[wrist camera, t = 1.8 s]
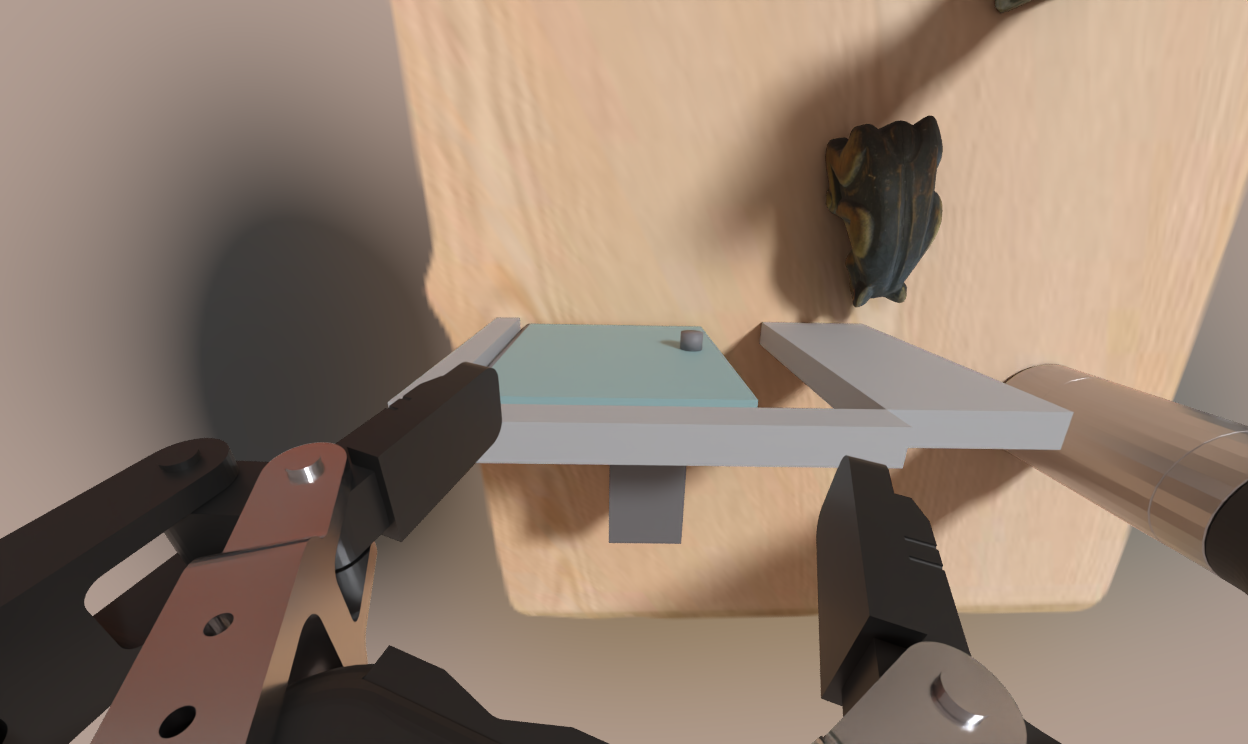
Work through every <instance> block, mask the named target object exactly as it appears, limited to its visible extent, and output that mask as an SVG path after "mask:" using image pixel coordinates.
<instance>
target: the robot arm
mask: <svg viewBox="0 0 1248 744" xmlns="http://www.w3.org/2000/svg"><path fill="white" fill-rule="evenodd" d="M1005 384H1007V385H1010V386H1012V387H1015V388H1017V389H1019V390H1022V391H1024V392H1027V393H1029V394H1031V395H1034V396H1036V397H1039V398H1041V399H1043V400H1046V401H1048V402H1050V403H1053V404H1055V405H1058V406H1060V407H1062V408H1065V409H1067V410H1070V411H1072V412H1074V413H1073V416H1072V419H1071V421H1070V424H1069V427H1068V430H1067V433H1066V436H1065V438H1064V441H1063V444H1062V447H1061V450H1035V449H1004V450H1005V451H1007V452H1009V453H1010V454H1012V455H1014V456H1015V457H1017V458H1019V459H1021V460H1022V461H1024V462H1026V463H1027V464H1029V465H1031V466H1032V467H1034V468H1035V469H1037V470H1039V471H1040V472H1042V473H1044V474H1046V475H1047V476H1049V477H1051V478H1052V479H1054V480H1056V481H1057V482H1059V483H1061V484H1062V485H1064V486H1066V487H1068V488H1069V489H1071V490H1073V491H1074V492H1076V493H1078V494H1079V495H1081V496H1083V497H1084V498H1086V499H1088V500H1090V501H1091V502H1093V503H1095V504H1096V505H1098V506H1100V507H1101V508H1103V509H1105V510H1106V511H1108V512H1110V513H1112V514H1113V515H1115V516H1117V517H1118V518H1120V519H1122V520H1123V521H1125V522H1127V523H1128V524H1130V525H1132V526H1134V527H1135V528H1137V529H1139V530H1140V531H1142V532H1144V533H1145V534H1147V535H1149V536H1151V537H1152V538H1154V539H1156V540H1157V541H1159V542H1161V543H1162V544H1164V545H1166V546H1168V547H1170V548H1171V549H1173V550H1175V551H1176V552H1178V553H1180V554H1181V555H1183V556H1185V557H1186V558H1188V559H1190V560H1192V561H1193V562H1195V563H1197V564H1198V565H1200V566H1202V567H1203V568H1205V569H1207V570H1208V571H1210V572H1212V573H1214V574H1215V575H1217V576H1219V577H1220V578H1222V579H1224V580H1225V581H1227V582H1229V583H1230V584H1232V585H1234V586H1235V587H1237V588H1238V589H1240V590H1242V591H1243V592H1245V593H1246V594H1247V595H1248V426H1246V425H1243V424H1240V423H1237V422H1234V421H1231V420H1228V419H1225V418H1222V417H1219V416H1215V415H1213V414H1209V413H1206V412H1203V411H1200V410H1197V409H1194V408H1191V407H1188V406H1185V405H1181V404H1178V403H1176V402H1173V401H1169V400H1166V399H1163V398H1160V397H1157V396H1154V395H1151V394H1148V393H1145V392H1142V391H1139V390H1136V389H1133V388H1129V387H1126V386H1123V385H1120V384H1117V383H1114V382H1111V381H1108V380H1105V379H1102V378H1099V377H1096V376H1093V375H1090V374H1087V373H1084V372H1081V371H1078V370H1074V369H1071V368H1068V367H1065V366H1061V365H1057V364H1045V365H1039V366H1034V367H1032V368H1029V369H1026V370H1024V371H1022V372H1020V373H1018V374H1017V375H1015V376H1014V377H1012V378H1011V379H1010V380H1008V381H1007V382H1006V383H1005ZM501 426H502V412H501V401H500V390H499V379H498V374H497V372H496V370H495V369H494V368H490V367H486V366H482V365H478V364H474V363H470V362H462V363H460V364H459V365H457V366H456V367H455V368H453V369H452V370H451V371H449V372H448V373H446V374H445V375H444V376H439V377H437V378H434V379H432V380H429V381H426V382H424V383H421V384H419V385H418V386H416V387H415V388H413V389H412V390H411V391H409V392H408V393H406V394H405V395H404V396H403V398H402V399H400V398H399V399H398V400H396V401H395V402H394V403H392V404H391V405H389V408H388V409H386V408H385V409H384V410H382V411H381V412H380V413H378V414H377V415H375V416H374V417H372V418H371V419H370V420H368V421H367V422H365V423H364V424H363V425H361V426H360V427H358V428H357V429H356V430H354V431H353V432H351V433H350V434H348V435H347V436H346V437H344V438H343V439H341V440H340V441H339V442H337V443H336V444H332V443H326V442H324V443H323V442H319V443H311V444H305V445H302V446H298V447H295V448H292V449H290V450H288V451H285V452H284V453H282V454H280V455H278V456H277V457H275V458H274V459H272V460H271V461H270V462H257V461H236V460H235V458H234V456H233V454H232V452H231V450H230V448H229V446H228V445H227V443H226V442H224V441H222V440H220V439H214V438H200V439H193V440H188V441H184V442H180V443H177V444H174V445H171V446H168V447H166V448H164V449H161V450H159V451H157V452H155V453H153V454H152V455H150V456H148V457H146V458H144V459H143V460H141V461H139V462H137V463H135V464H134V465H132V466H130V467H128V468H126V469H125V470H123V471H121V472H119V473H118V474H116V475H114V476H112V477H110V478H109V479H107V480H105V481H103V482H101V483H100V484H98V485H96V486H94V487H93V488H91V489H89V490H87V491H86V492H84V493H82V494H80V495H78V496H76V497H75V498H73V499H71V500H69V501H68V502H66V503H64V504H62V505H60V506H58V507H57V508H55V509H53V510H51V511H50V512H48V513H46V514H44V515H43V516H41V517H39V518H37V519H35V520H34V521H32V522H30V523H28V524H26V525H25V526H23V527H21V528H19V529H17V530H16V531H14V532H12V533H10V534H8V535H7V536H5V537H3V538H1V539H0V744H69V743H70V742H71V741H72V740H73V739H74V738H75V737H76V736H78V734H80V733H81V732H82V731H83V730H84V729H85V728H86V727H87V726H88V725H90V724H91V722H93V721H94V720H95V719H96V718H97V717H99V716H100V715H101V714H102V713H103V712H104V711H105V710H106V709H107V708H108V707H109V706H110V708H109V710H108V712H107V713H106V715H105V717H104V719H103V721H102V723H101V725H100V726H99V728H98V730H97V732H96V734H95V736H94V738H93V739H92V741H91V743H90V744H608V743H606V742H604V741H602V740H600V739H597V738H595V737H593V736H591V735H588V734H586V733H584V732H582V731H580V730H577V729H575V728H572V727H564V726H555V725H545V724H537V723H528V722H519V721H510V720H502V719H498V718H496V717H494V716H492V715H491V714H490V713H489V712H488V711H487V710H486V709H484V708H483V707H482V706H481V705H480V704H479V703H478V702H477V701H476V700H475V699H474V698H473V697H472V696H471V695H470V694H469V693H468V692H467V691H466V690H465V689H464V688H463V687H462V686H460V684H459V683H458V682H457V681H456V680H455V679H453V678H452V677H451V676H450V675H449V674H448V673H447V672H446V671H445V670H444V669H441V668H439V667H437V666H435V665H432V664H430V663H428V662H426V661H423V660H421V659H419V658H417V657H415V656H412V655H410V654H408V653H405V652H403V651H401V650H399V649H397V648H395V647H392V646H390V645H389V646H388V648H387V649H386V650H385V651H384V653H383V654H382V655H381V657H380V658H379V659H378V660H377V662H376V663H375V664H368V661H367V652H366V642H365V636H366V626H367V619H368V612H369V605H370V598H371V591H372V585H373V578H374V570H375V564H376V557H377V548H376V544H375V540H376V539H377V538H378V537H379V536H380V535H384V536H387V537H389V538H392V539H395V540H397V541H400V542H402V541H403V540H404V539H405V538H406V537H407V536H408V535H409V534H410V532H411V531H412V530H413V529H414V528H415V527H416V526H417V525H418V524H419V523H420V522H421V521H422V520H423V519H424V517H426V515H427V514H428V513H429V512H430V511H431V510H432V509H433V508H434V507H435V506H436V505H437V503H438V502H440V500H441V499H442V498H443V497H444V496H445V495H446V494H447V493H448V492H449V491H450V490H451V489H452V488H453V487H454V485H455V484H456V483H457V482H458V481H459V480H460V479H461V478H462V477H463V476H464V475H465V474H466V473H467V472H468V471H469V469H470V468H471V467H472V466H473V465H474V464H475V463H476V462H477V461H478V460H479V459H480V458H481V457H482V456H483V454H484V453H485V452H486V451H487V450H488V449H489V448H490V447H491V446H492V445H493V444H494V442H495V441H496V439H497V438H498V435H499V433H500V430H501ZM163 532H164V533H165V535H166V536H167V538H168V539H169V541H170V542H171V544H172V545H173V547H174V548H175V550H176V551H177V554H175V555H174V556H173V557H171V558H170V559H169V560H167V561H166V562H165V563H163V564H162V565H161V566H159V567H158V568H157V569H155V570H154V571H153V572H151V573H150V574H149V575H147V576H146V577H145V578H143V579H142V580H140V581H139V582H138V583H136V584H135V585H134V586H133V587H131V588H130V589H129V590H127V591H126V592H125V593H123V594H122V595H120V596H119V597H118V598H116V599H115V600H114V601H112V602H111V603H110V604H108V605H107V606H106V607H104V608H103V609H102V610H100V611H99V612H98V613H96V614H95V615H94V616H92V615H91V614H90V613H89V612H88V611H87V610H86V608H85V606H84V599H85V595H86V593H87V591H88V590H89V588H90V587H91V585H92V584H93V583H94V582H95V581H96V580H97V579H98V578H99V577H100V576H102V575H103V574H104V573H106V572H107V571H109V570H110V569H112V568H113V567H115V566H116V565H117V564H119V563H120V562H122V561H123V560H125V559H126V558H127V557H129V556H130V555H132V554H133V553H135V552H136V551H137V550H139V549H140V548H142V547H143V546H145V545H146V544H147V543H149V542H150V541H152V540H153V539H155V538H156V537H157V536H159V535H160V534H162V533H163ZM816 544H817V577H818V611H819V641H820V674H821V675H820V677H821V698H822V699H824V700H827V701H830V702H832V703H835V704H838V705H840V706H843V718H842V719H841V720H840V721H839V722H838V723H837V724H836V725H835V726H834V728H833V729H832V730H831V731H830V732H829V733H828V734H827V735H825V736H824V737H822V736H820V737H819V738H818V739H816V740H815V741H814V742H813V743H812V744H1061V743H1060V742H1058V741H1056V740H1055V739H1053V738H1051V737H1050V736H1048V735H1047V734H1045V733H1043V732H1042V731H1040V730H1039V729H1037V728H1035V727H1034V726H1033V725H1031V724H1030V723H1028V722H1027V721H1026V720H1024V719H1023V717H1022V714H1021V712H1020V710H1019V708H1018V706H1017V704H1016V702H1015V701H1014V699H1013V698H1012V696H1011V695H1010V693H1009V692H1008V691H1007V689H1006V688H1005V687H1004V686H1003V684H1002V683H1001V682H1000V681H999V680H998V679H997V678H996V677H995V676H994V675H993V674H992V673H991V672H990V671H989V670H988V669H987V668H986V667H984V666H983V665H982V664H981V663H979V662H978V661H977V660H975V659H974V658H972V657H971V654H970V652H969V648H968V645H967V642H966V639H965V635H964V632H963V629H962V626H961V622H960V619H959V616H958V613H957V609H956V606H955V603H954V600H953V596H952V593H951V590H950V587H949V583H948V580H947V577H946V574H945V571H944V570H942V566H943V564H942V561H941V557H940V554H939V551H938V550H937V549H936V546H937V544H936V541H935V538H934V535H933V531H932V528H931V525H930V522H929V520H928V519H927V518H926V516H925V515H924V514H923V512H922V511H921V510H920V509H919V507H918V506H917V505H916V503H915V502H914V501H913V500H912V498H909V497H906V496H902V495H898V494H894V491H893V487H892V482H891V478H890V474H889V470H888V467H887V466H886V465H884V464H880V463H876V462H872V461H868V460H864V459H860V458H856V457H852V456H848V455H845V456H844V457H843V458H842V460H841V462H840V464H839V466H838V469H837V471H836V474H835V476H834V479H833V481H832V484H831V486H830V489H829V491H828V493H827V496H826V498H825V501H824V503H823V506H822V508H821V511H820V515H819V519H818V525H817V534H816Z"/></svg>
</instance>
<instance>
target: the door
mask: <svg viewBox="0 0 1248 744" xmlns="http://www.w3.org/2000/svg"><path fill="white" fill-rule="evenodd" d="M488 367H490V368H494V369H495V370H496V372H497V374H498V379H499V390H500V401H501V404H543V405H612V406H680V407H749V408H757V406H758V399H757V398H756V397H755V395H754V394H753V393H752V391H751V390H750V389H749V388H748V386H747V385H746V384H745V382H744V381H743V380H742V379H741V377H740V376H739V375H738V373H737V372H736V371H735V370H734V368H733V367H732V366H731V364H730V363H729V362H728V361H727V359H726V358H725V357H724V356H723V354H722V353H721V352H720V350H719V349H718V348H717V347H716V345H715V344H714V343H713V341H712V340H711V339H710V338H709V336H708V335H707V334H706V332H705V331H704V330H703V329H702V327H692V326H633V325H575V324H527V325H526V326H525V327H524V328H523V329H522V330H521V331H520V332H519V333H518V334H517V335H516V337H515V338H514V339H513V340H512V341H511V342H510V343H509V344H508V345H507V346H506V348H505V349H504V350H503V351H502V352H501V353H500V354H499V355H498V356H497V357H496V358H495V360H494V361H493V362H492V363H491V364H490V365H489V366H488Z"/></svg>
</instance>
